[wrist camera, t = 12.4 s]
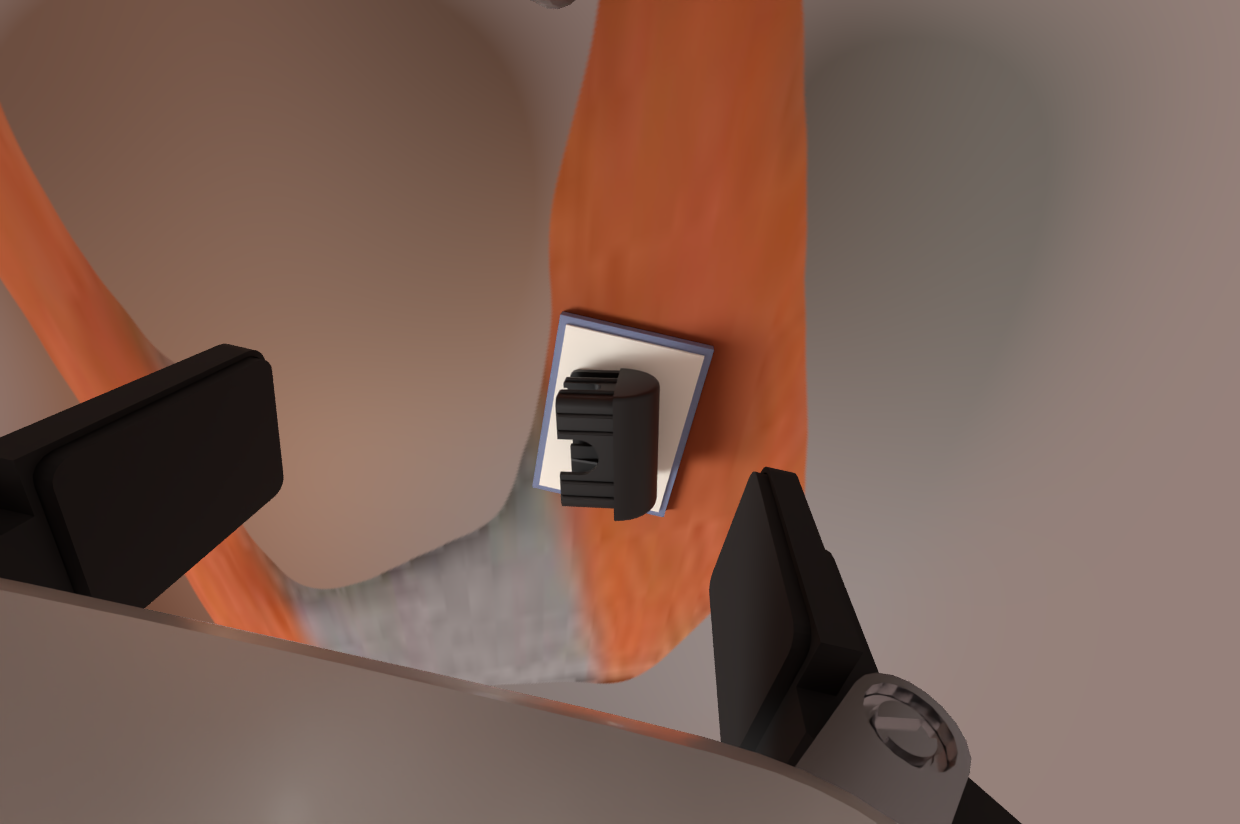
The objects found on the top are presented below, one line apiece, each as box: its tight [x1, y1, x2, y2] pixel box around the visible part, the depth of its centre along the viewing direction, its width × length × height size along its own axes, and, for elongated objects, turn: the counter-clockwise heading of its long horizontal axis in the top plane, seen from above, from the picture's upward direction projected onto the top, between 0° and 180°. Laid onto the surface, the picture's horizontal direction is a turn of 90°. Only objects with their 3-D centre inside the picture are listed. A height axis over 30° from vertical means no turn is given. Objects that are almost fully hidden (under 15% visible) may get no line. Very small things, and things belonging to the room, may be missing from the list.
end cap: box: [555, 368, 660, 521], centre depth 40 cm, size 10×7×7 cm
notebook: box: [532, 312, 714, 517], centre depth 44 cm, size 16×12×1 cm
